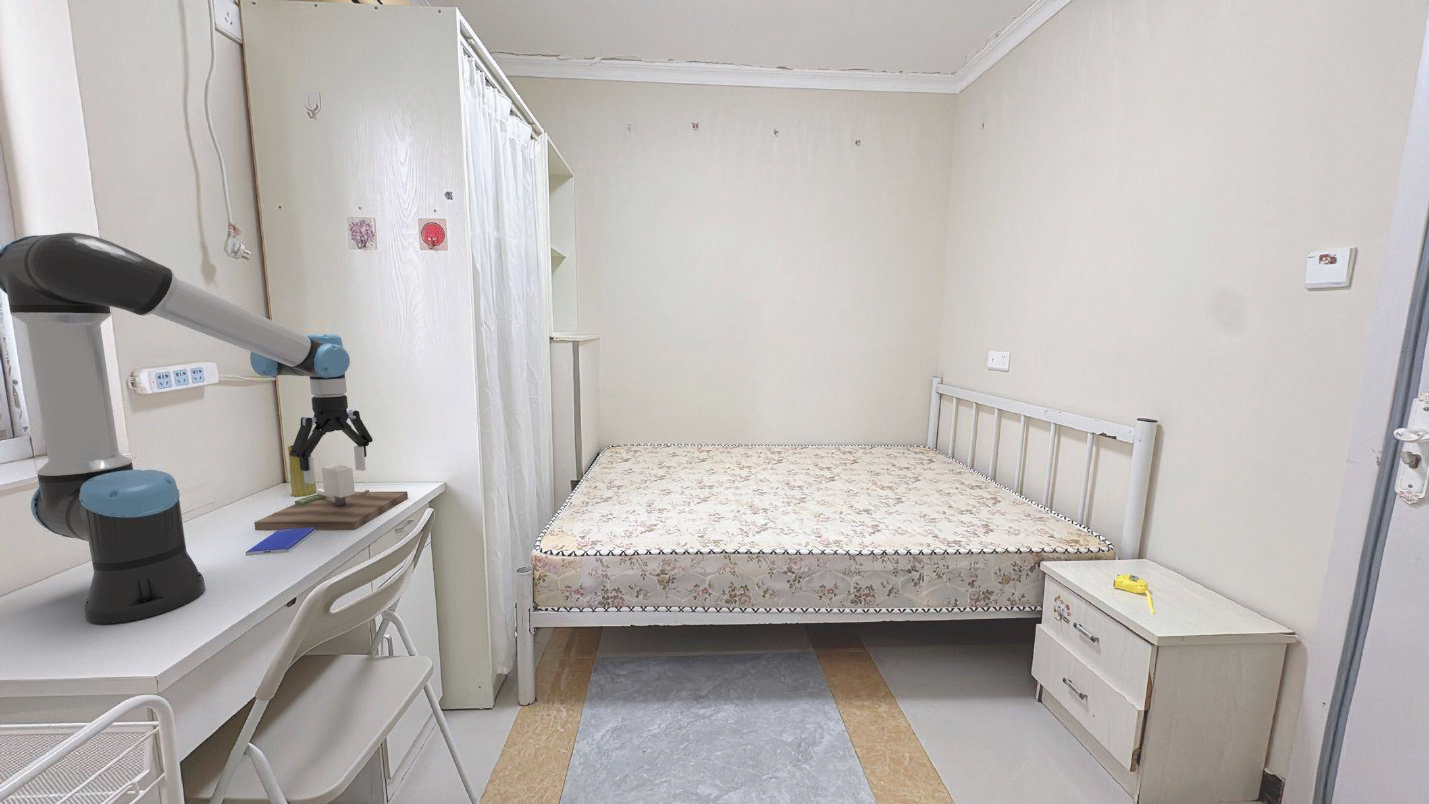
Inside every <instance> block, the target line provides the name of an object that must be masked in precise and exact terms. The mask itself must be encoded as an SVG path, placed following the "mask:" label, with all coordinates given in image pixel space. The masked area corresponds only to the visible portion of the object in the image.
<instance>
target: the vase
mask: <svg viewBox="0 0 1429 804" xmlns="http://www.w3.org/2000/svg"><path fill="white" fill-rule="evenodd" d="M292 447H293V444H291V445H289V446H287V451H288V457H289V459H288V460H289V477H290V478H289V479H290V489H291V493H290V495H291V496H292V497H306V496H309V495H310V496H311V495H312V494H313V495H314V494H316V489H317V484H316V482H315V483H314V484H310V483H305V481H304V471H301V469H300V461H299V458H298V457H292V456H290V452H291V449H292ZM309 457H312V454H311V455H310V456H309Z"/></svg>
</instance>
